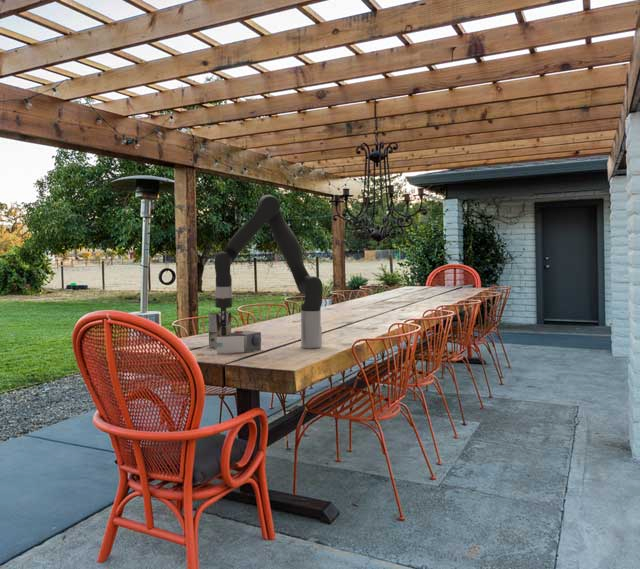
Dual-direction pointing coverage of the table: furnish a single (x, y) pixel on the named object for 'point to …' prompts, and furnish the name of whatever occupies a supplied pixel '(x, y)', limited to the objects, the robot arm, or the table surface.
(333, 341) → the table surface
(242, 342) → the side door
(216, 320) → the coffee box
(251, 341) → the block
